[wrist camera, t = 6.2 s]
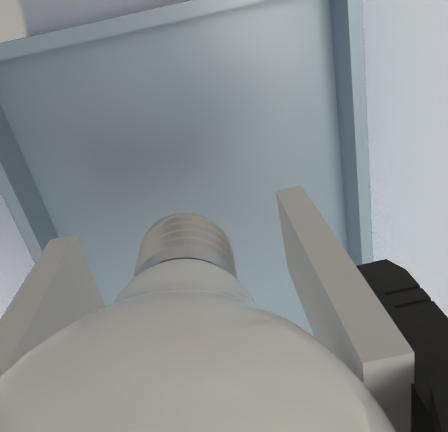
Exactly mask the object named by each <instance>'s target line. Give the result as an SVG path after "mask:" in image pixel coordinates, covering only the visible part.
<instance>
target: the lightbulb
mask: <svg viewBox="0 0 448 432" xmlns="http://www.w3.org/2000/svg"><path fill="white" fill-rule="evenodd" d="M0 432H397V431H396V430H395V428H394V426H393V425H392V423H391V421H390V420H389V418H388V417H387V415H386V413H385V412H384V410H383V409H382V407H381V406H380V405H379V403H378V402H377V400H376V399H375V398H374V396H373V395H372V394H371V392H370V391H369V390H368V389H367V387H366V386H365V385H364V384H363V382H362V381H361V380H360V379H359V378H358V377H357V375H356V374H355V373H354V372H353V371H352V370H351V369H350V368H349V367H348V366H347V365H346V364H345V363H344V362H343V361H342V360H341V359H340V358H339V357H338V356H337V355H336V354H335V353H334V352H333V351H331V350H330V349H329V348H328V347H327V346H326V345H324V344H323V343H322V342H321V341H319V340H318V339H317V338H315V337H314V336H313V335H311V334H310V333H308V332H307V331H305V330H304V329H302V328H301V327H299V326H298V325H296V324H295V323H293V322H291V321H290V320H288V319H286V318H284V317H282V316H280V315H279V314H277V313H275V312H273V311H271V310H268V309H266V308H264V307H262V306H259V305H257V304H255V302H254V300H253V298H252V297H251V295H250V294H249V292H248V291H247V289H246V288H245V287H244V286H243V285H242V283H241V282H240V281H239V280H238V278H237V271H236V266H235V260H234V254H233V247H232V243H231V240H230V238H229V236H228V234H227V233H226V231H225V230H224V229H223V228H222V227H221V226H220V225H219V224H218V223H217V222H215V221H214V220H212V219H210V218H208V217H206V216H203V215H200V214H196V213H177V214H172V215H169V216H166V217H164V218H162V219H160V220H159V221H157V222H156V223H154V224H153V225H152V226H151V227H150V228H149V229H148V231H147V232H146V233H145V235H144V237H143V239H142V242H141V245H140V249H139V254H138V258H137V263H136V267H135V272H134V276H133V279H132V280H131V281H130V282H129V283H128V284H127V285H126V286H125V287H124V288H123V290H122V291H121V292H120V293H119V295H118V296H117V298H116V299H115V301H114V303H113V304H110V305H107V306H105V307H103V308H100V309H98V310H96V311H93V312H91V313H89V314H87V315H85V316H83V317H81V318H79V319H77V320H75V321H73V322H72V323H70V324H68V325H66V326H65V327H63V328H61V329H60V330H58V331H56V332H55V333H53V334H52V335H50V336H49V337H47V338H46V339H44V340H43V341H42V342H40V343H39V344H37V345H36V346H35V347H33V348H32V349H31V350H30V351H28V352H27V353H26V354H24V355H23V356H22V357H21V358H20V359H19V360H17V361H16V362H15V363H14V364H13V365H12V366H11V367H9V368H8V369H7V370H6V371H5V372H4V373H3V374H2V375H1V376H0Z"/></svg>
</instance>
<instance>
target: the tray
mask: <svg viewBox="0 0 448 432" xmlns="http://www.w3.org/2000/svg"><path fill="white" fill-rule="evenodd" d="M300 185H301V186H302V187H303V189H304V190H305V192H306V193H307V195H308V196H309V198H310V199H311V200H312V202H313V203H314V205H315V206H316V208H317V209H318V211H319V212H320V214H321V215H322V217H323V218H324V220H325V221H326V223H327V224H328V226H329V227H330V229H331V230H332V232H333V233H334V234H335V236H336V237H337V239H338V240H339V242H340V243H341V245H342V246H343V248H344V249H345V251H346V252H347V254H348V255H349V257H350V258H351V260H352V261H353V263H354V264H355V265H356V266H357V265H361V264H366V263H371V262H373V246H372V222H371V198H370V174H369V150H368V126H367V102H366V78H365V54H364V30H363V6H362V0H190V1H186V2H181V3H177V4H172V5H168V6H163V7H159V8H155V9H150V10H146V11H141V12H137V13H132V14H128V15H123V16H119V17H114V18H110V19H106V20H101V21H97V22H92V23H88V24H83V25H79V26H74V27H70V28H65V29H61V30H57V31H52V32H48V33H43V34H39V35H34V36H30V37H25V38H21V39H17V40H12V41H8V42H3V43H0V192H1V194H2V196H3V198H4V200H5V202H6V204H7V207H8V209H9V211H10V213H11V215H12V217H13V219H14V221H15V223H16V225H17V227H18V229H19V231H20V233H21V235H22V237H23V239H24V241H25V244H26V246H27V248H28V250H29V252H30V254H31V256H32V258H33V260H34V262H35V263H36V261H37V260H38V258H39V257H40V255H41V253H42V252H43V250H44V248H45V247H46V245H47V244H48V242H49V240H51V239H55V238H60V237H65V236H69V235H74V234H75V235H76V237H77V239H78V242H79V244H80V247H81V249H82V252H83V254H84V256H85V259H86V261H87V264H88V266H89V268H90V271H91V273H92V276H93V278H94V280H95V283H96V285H97V288H98V290H99V292H100V295H101V297H102V300H103V302H104V304H105V306H107V305H110V304H113V303H114V301H115V299H116V298H117V296H118V295H119V293H120V292H121V291H122V290H123V288H124V287H125V286H126V285H127V284H128V283H129V282H130V281H131V280H132V279H133V276H134V272H135V267H136V263H137V258H138V254H139V249H140V245H141V242H142V239H143V237H144V235H145V233H146V232H147V231H148V229H149V228H150V227H151V226H152V225H153V224H154V223H156V222H157V221H159V220H160V219H162V218H164V217H166V216H169V215H172V214H177V213H196V214H200V215H203V216H206V217H208V218H210V219H212V220H214V221H215V222H217V223H218V224H219V225H220V226H221V227H222V228H223V229H224V230H225V231H226V233H227V234H228V236H229V238H230V240H231V243H232V247H233V254H234V260H235V266H236V271H237V278H238V280H239V281H240V282H241V283H242V285H243V286H244V287H245V288H246V289H247V291H248V292H249V294H250V295H251V297H252V298H253V300H254V302H255V304H257V305H259V306H262V307H264V308H266V309H268V310H271V311H273V312H275V313H277V314H279V315H280V316H282V317H284V318H286V319H288V320H290V321H291V322H293V323H295V324H296V325H298V326H299V327H301V328H302V329H304V330H305V331H307V332H308V333H310V334H311V335H313V336H314V334H313V331H312V329H311V326H310V324H309V321H308V319H307V316H306V314H305V311H304V309H303V306H302V304H301V301H300V299H299V296H298V294H297V291H296V289H295V286H294V284H293V281H292V279H291V276H290V274H289V271H288V269H287V262H286V256H285V249H284V243H283V237H282V230H281V224H280V217H279V211H278V204H277V198H276V192H275V191H277V190H282V189H286V188H291V187H295V186H300ZM314 337H315V336H314Z"/></svg>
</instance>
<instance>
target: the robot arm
mask: <svg viewBox="0 0 448 432" xmlns="http://www.w3.org/2000/svg"><path fill="white" fill-rule="evenodd" d="M275 192H276V198H277V204H278V211H279V217H280V224H281V230H282V237H283V243H284V249H285V256H286V262H287V269H288V271H289V274H290V276H291V279H292V281H293V284H294V286H295V289H296V291H297V294H298V296H299V299H300V301H301V304H302V306H303V309H304V311H305V314H306V316H307V319H308V321H309V324H310V326H311V329H312V331H313V334H314V336H315V338H317V339H318V340H319V341H321V342H322V343H323V344H324V345H326V346H327V347H328V348H329V349H330V350H331V351H333V352H334V353H335V354H336V355H337V356H338V357H339V358H340V359H341V360H342V361H343V362H344V363H345V364H346V365H347V366H348V367H349V368H350V369H351V370H352V371H353V372H354V373H355V374H356V375H357V377H358V378H359V379H360V380H361V381H362V382H363V384H364V385H365V386H366V387H367V389H368V390H369V391H370V392H371V394H372V395H373V396H374V398H375V399H376V400H377V402H378V403H379V405H380V406H381V407H382V409H383V410H384V412H385V413H386V415H387V417H388V418H389V420H390V421H391V423H392V425H393V426H394V428H395V430H396V431H397V432H448V318H447V316H446V315H445V314H444V313H443V312H442V311H441V309H440V308H439V307H438V306H437V305H436V304H435V303H434V301H431V298H430V297H429V296H428V294H427V293H426V292H425V291H424V290H423V289H422V288H420V286H419V284H418V283H417V282H416V281H415V279H414V278H413V277H412V276H411V275H410V274H409V273H408V271H407V270H405V269H404V268H402V267H400V266H398V265H396V264H394V263H392V262H390V261H389V260H387V259H385V260H380V261H376V262H371V263H366V264H361V265H357V266H356V265H355V264H354V263H353V261H352V260H351V258H350V257H349V255H348V254H347V252H346V251H345V249H344V248H343V246H342V245H341V243H340V242H339V240H338V239H337V237H336V236H335V234H334V233H333V232H332V230H331V229H330V227H329V226H328V224H327V223H326V221H325V220H324V218H323V217H322V215H321V214H320V212H319V211H318V209H317V208H316V206H315V205H314V203H313V202H312V200H311V199H310V198H309V196H308V195H307V193H306V192H305V190H304V189H303V187H302V186H301V185H300V186H295V187H291V188H286V189H282V190H277V191H275ZM103 307H105V304H104V302H103V300H102V297H101V295H100V292H99V290H98V288H97V285H96V283H95V280H94V278H93V276H92V273H91V271H90V268H89V266H88V264H87V261H86V259H85V256H84V254H83V252H82V249H81V247H80V244H79V242H78V239H77V237H76V235H75V234H74V235H69V236H65V237H60V238H55V239H51V240H49V242H48V244H47V245H46V247H45V248H44V250H43V252H42V253H41V255H40V257H39V258H38V260H37V261H36V263H35V265H34V266H33V268H32V269H31V271H30V273H29V274H28V276H27V278H26V279H25V281H24V282H23V284H22V286H21V287H20V289H19V290H18V292H17V294H16V295H15V297H14V299H13V300H12V302H11V303H10V305H9V307H8V308H7V310H6V311H5V313H4V315H3V316H2V318H1V319H0V376H1V375H2V374H3V373H4V372H5V371H6V370H7V369H8V368H9V367H11V366H12V365H13V364H14V363H15V362H16V361H17V360H19V359H20V358H21V357H22V356H23V355H24V354H26V353H27V352H28V351H30V350H31V349H32V348H33V347H35V346H36V345H37V344H39V343H40V342H42V341H43V340H44V339H46V338H47V337H49V336H50V335H52V334H53V333H55V332H56V331H58V330H60V329H61V328H63V327H65V326H66V325H68V324H70V323H72V322H73V321H75V320H77V319H79V318H81V317H83V316H85V315H87V314H89V313H91V312H93V311H96V310H98V309H100V308H103Z"/></svg>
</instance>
